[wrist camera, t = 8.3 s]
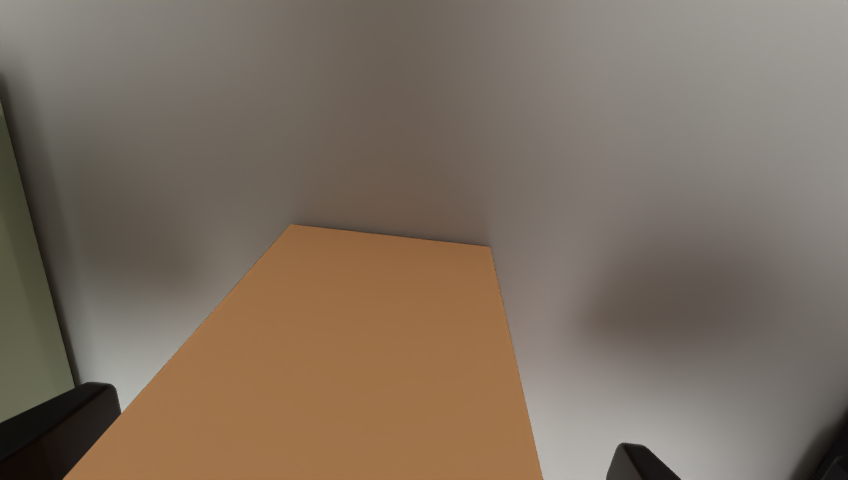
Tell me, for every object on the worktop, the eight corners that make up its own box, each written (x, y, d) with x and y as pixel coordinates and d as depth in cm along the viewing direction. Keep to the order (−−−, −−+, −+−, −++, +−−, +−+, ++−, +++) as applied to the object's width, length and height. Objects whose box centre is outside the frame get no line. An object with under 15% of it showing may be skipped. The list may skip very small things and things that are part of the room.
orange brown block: (490, 246, 10) (576, 624, 3) (459, 419, 12) (476, 866, 5) (290, 224, 10) (-9, 560, 3) (292, 400, 12) (108, 825, 5)
